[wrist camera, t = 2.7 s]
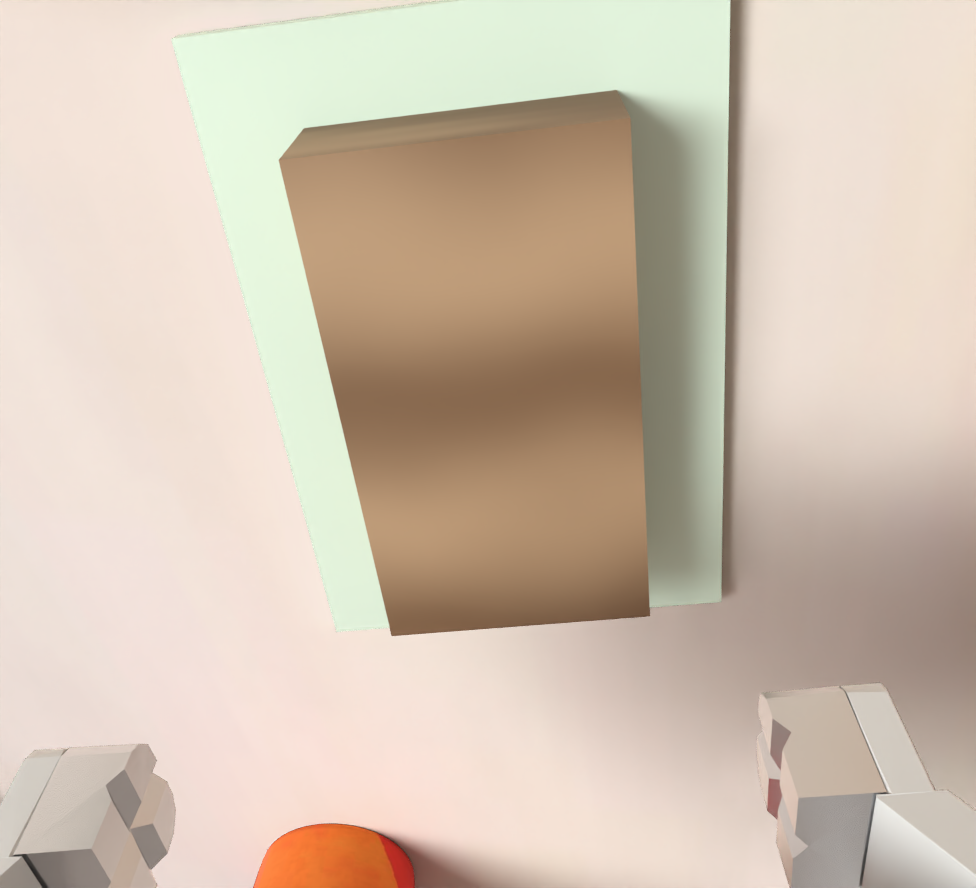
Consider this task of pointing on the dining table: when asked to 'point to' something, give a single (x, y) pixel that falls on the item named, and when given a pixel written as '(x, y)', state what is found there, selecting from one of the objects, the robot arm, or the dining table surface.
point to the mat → (466, 84)
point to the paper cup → (334, 860)
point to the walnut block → (484, 354)
